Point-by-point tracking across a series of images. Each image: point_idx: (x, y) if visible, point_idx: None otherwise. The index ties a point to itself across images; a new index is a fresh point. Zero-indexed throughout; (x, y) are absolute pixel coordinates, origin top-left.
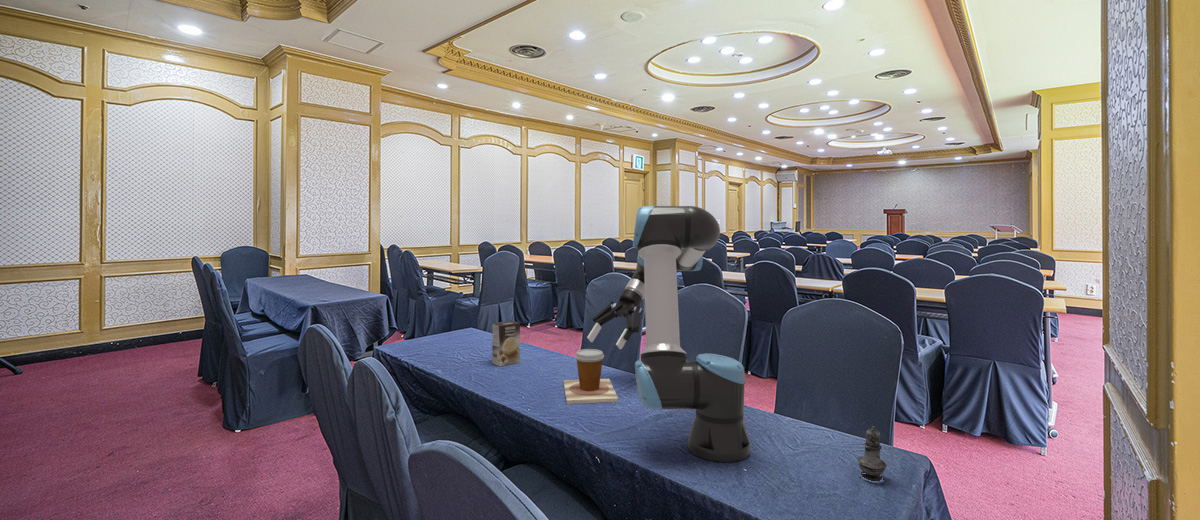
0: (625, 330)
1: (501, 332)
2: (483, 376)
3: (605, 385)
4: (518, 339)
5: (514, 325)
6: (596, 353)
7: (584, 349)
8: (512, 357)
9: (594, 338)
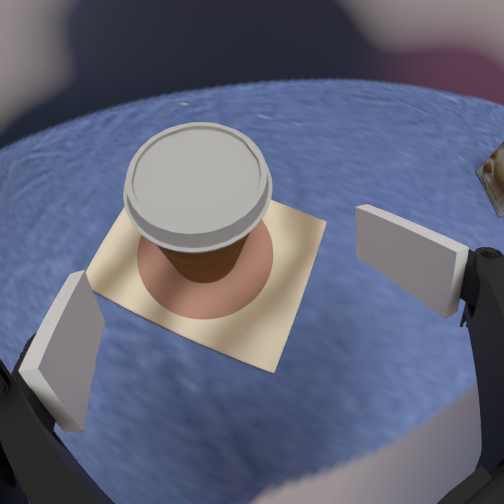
0: (28, 353)
1: None
2: (420, 122)
3: (200, 314)
4: None
5: None
6: (170, 198)
7: (263, 174)
8: (498, 189)
9: (373, 264)
